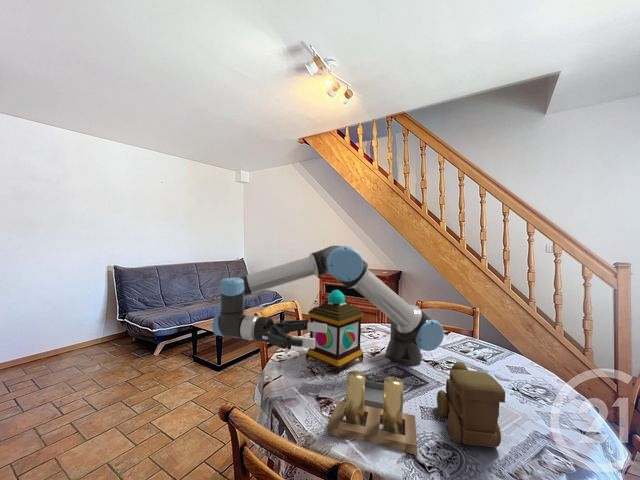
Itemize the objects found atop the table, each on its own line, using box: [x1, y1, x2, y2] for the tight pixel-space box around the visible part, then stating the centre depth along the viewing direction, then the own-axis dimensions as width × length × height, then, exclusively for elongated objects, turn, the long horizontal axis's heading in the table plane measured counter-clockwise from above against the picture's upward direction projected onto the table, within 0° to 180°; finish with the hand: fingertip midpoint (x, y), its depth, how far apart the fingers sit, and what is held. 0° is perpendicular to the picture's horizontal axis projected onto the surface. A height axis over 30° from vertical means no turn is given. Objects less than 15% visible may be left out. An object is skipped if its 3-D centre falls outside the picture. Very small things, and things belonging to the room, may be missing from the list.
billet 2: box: [381, 376, 404, 435], centre depth 74 cm, size 5×5×14 cm
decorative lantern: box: [305, 289, 365, 375], centre depth 117 cm, size 20×20×30 cm
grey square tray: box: [364, 379, 384, 409], centre depth 90 cm, size 12×12×2 cm
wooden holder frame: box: [327, 399, 418, 456], centre depth 76 cm, size 22×12×2 cm, turn 74°
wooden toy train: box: [436, 361, 506, 449], centre depth 77 cm, size 20×11×17 cm, turn 173°
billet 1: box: [344, 370, 366, 427], centre depth 77 cm, size 5×5×14 cm
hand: (321, 335), depth 85 cm, fingers open, 13 cm apart
